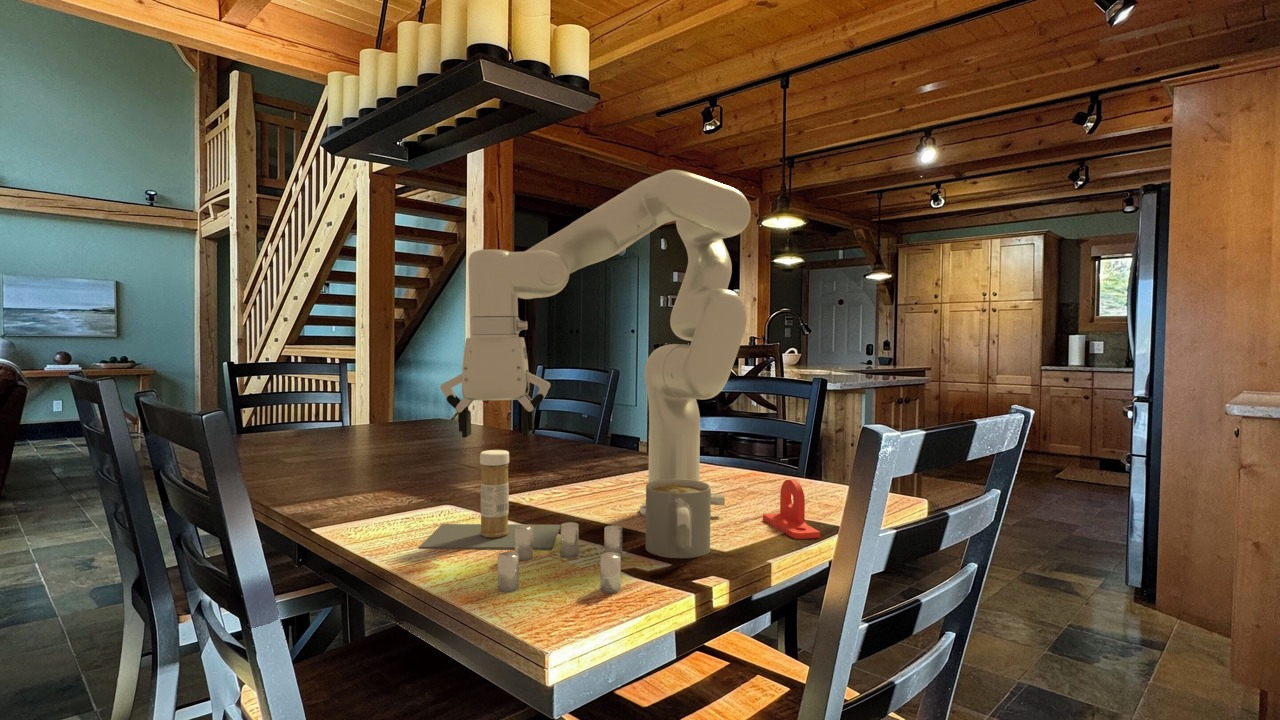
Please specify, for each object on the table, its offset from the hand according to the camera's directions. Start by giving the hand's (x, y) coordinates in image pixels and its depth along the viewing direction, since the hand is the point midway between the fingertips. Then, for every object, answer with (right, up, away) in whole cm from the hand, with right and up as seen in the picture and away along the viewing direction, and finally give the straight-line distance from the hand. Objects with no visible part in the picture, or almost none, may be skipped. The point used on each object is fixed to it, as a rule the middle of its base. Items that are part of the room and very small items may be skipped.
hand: (496, 435), depth 105 cm
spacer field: (+13, -18, -15) cm, 27 cm away
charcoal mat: (-1, -17, 0) cm, 17 cm away
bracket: (+49, -17, +8) cm, 52 cm away
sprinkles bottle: (-1, -16, 0) cm, 16 cm away
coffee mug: (+28, -18, -5) cm, 34 cm away
